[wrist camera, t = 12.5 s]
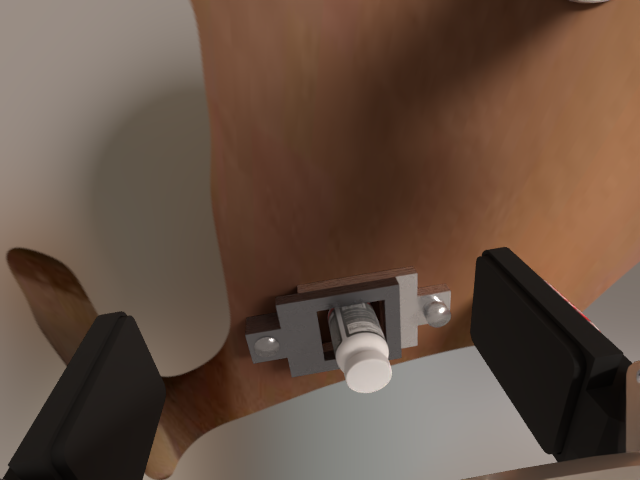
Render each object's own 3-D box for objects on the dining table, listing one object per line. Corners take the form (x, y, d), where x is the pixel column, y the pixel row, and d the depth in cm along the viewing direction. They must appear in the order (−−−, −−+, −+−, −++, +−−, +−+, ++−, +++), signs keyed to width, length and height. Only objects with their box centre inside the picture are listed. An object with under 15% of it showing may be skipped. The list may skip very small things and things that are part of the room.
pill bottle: (350, 338, 49) (367, 404, 40) (317, 316, 47) (328, 382, 38) (382, 309, 47) (408, 372, 39) (350, 285, 45) (369, 346, 37)
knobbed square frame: (446, 260, 45) (458, 275, 42) (443, 331, 50) (454, 349, 48) (240, 295, 44) (238, 313, 41) (259, 364, 49) (258, 384, 47)
